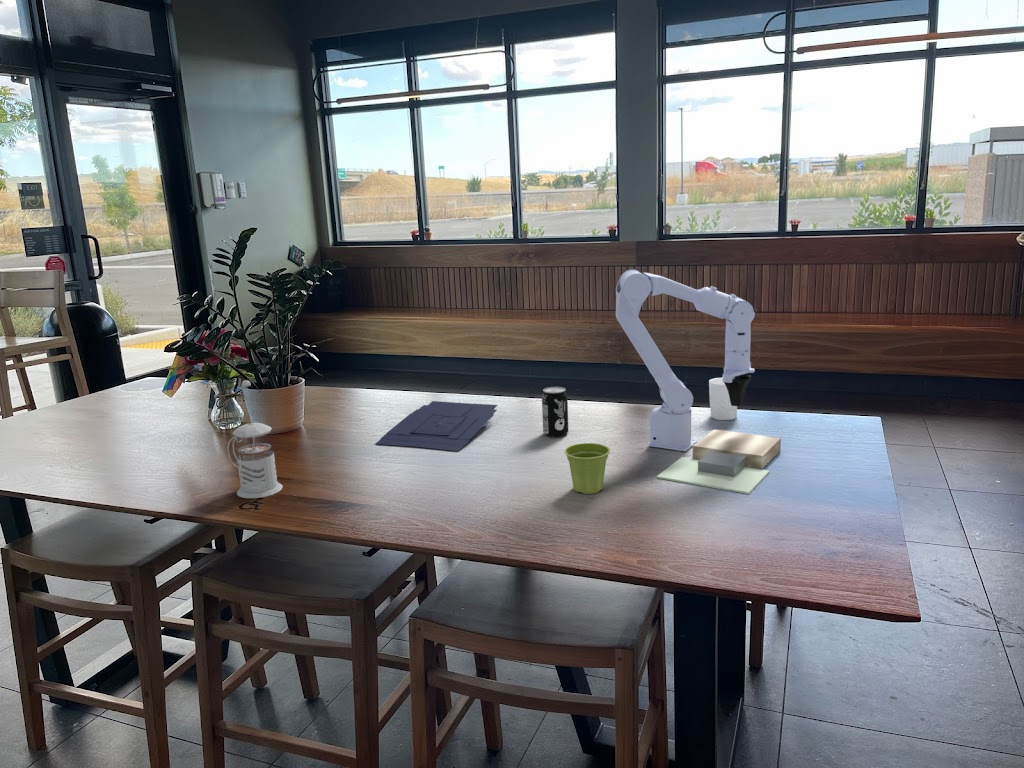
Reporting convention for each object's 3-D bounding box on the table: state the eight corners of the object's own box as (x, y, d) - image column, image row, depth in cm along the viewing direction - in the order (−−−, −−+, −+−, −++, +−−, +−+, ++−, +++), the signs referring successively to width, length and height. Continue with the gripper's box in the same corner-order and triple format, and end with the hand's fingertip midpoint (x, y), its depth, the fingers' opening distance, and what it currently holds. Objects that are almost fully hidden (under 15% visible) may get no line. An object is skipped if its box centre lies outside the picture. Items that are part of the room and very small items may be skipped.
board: (692, 458, 179) (692, 445, 178) (714, 441, 190) (714, 429, 190) (762, 468, 170) (762, 455, 170) (780, 450, 181) (780, 438, 181)
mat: (656, 477, 168) (656, 476, 168) (681, 458, 179) (681, 457, 179) (748, 494, 157) (748, 492, 157) (769, 472, 168) (769, 470, 168)
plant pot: (616, 494, 160) (615, 454, 158) (571, 499, 158) (570, 459, 156) (603, 479, 169) (602, 441, 167) (561, 483, 167) (560, 445, 165)
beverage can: (573, 432, 203) (571, 387, 200) (560, 439, 197) (559, 393, 195) (551, 429, 206) (549, 385, 203) (538, 436, 201) (536, 391, 198)
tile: (697, 471, 170) (697, 461, 169) (710, 460, 176) (711, 450, 176) (733, 477, 165) (734, 467, 165) (745, 465, 172) (746, 456, 171)
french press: (264, 500, 166) (249, 386, 160) (220, 495, 170) (204, 384, 164) (291, 483, 175) (278, 376, 169) (249, 479, 179) (235, 374, 173)
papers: (505, 414, 218) (503, 402, 217) (460, 461, 192) (458, 447, 191) (428, 409, 227) (426, 397, 226) (375, 453, 201) (373, 440, 200)
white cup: (715, 411, 215) (715, 376, 213) (743, 415, 211) (743, 379, 208) (703, 418, 209) (704, 382, 207) (732, 422, 204) (733, 385, 202)
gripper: (744, 357, 175) (743, 414, 178) (764, 345, 186) (762, 399, 190) (714, 354, 179) (713, 411, 182) (735, 343, 190) (733, 396, 194)
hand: (736, 405), depth 186 cm, fingers closed
